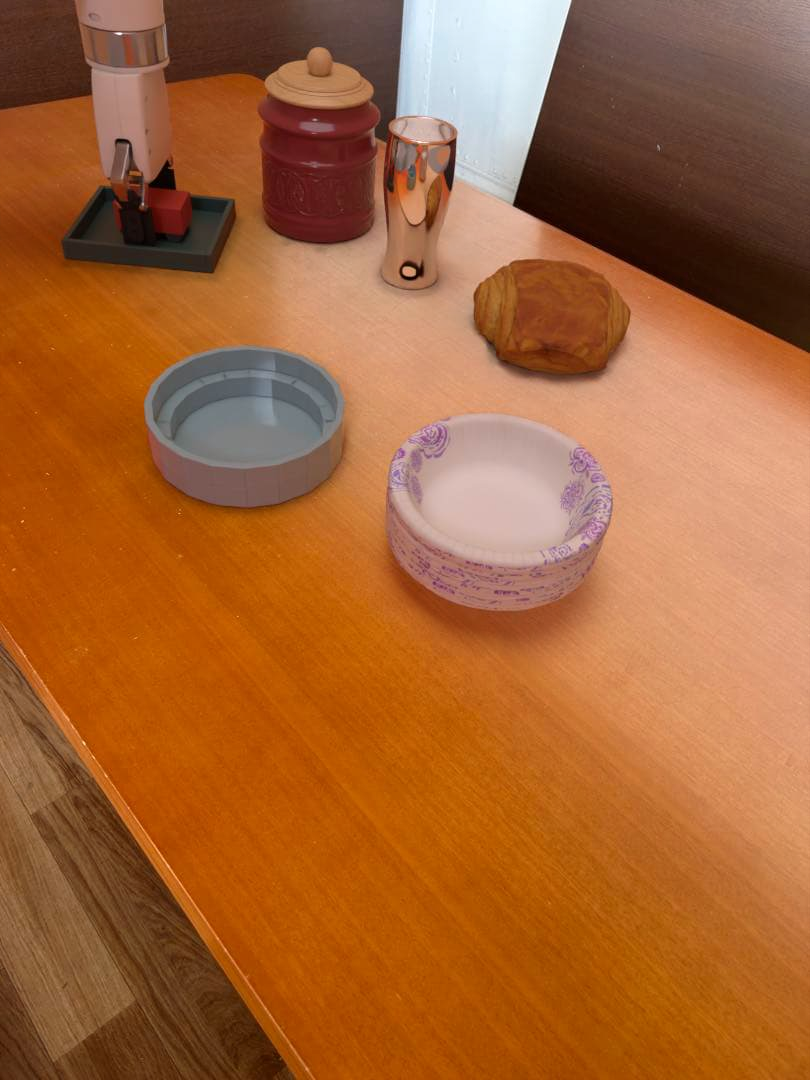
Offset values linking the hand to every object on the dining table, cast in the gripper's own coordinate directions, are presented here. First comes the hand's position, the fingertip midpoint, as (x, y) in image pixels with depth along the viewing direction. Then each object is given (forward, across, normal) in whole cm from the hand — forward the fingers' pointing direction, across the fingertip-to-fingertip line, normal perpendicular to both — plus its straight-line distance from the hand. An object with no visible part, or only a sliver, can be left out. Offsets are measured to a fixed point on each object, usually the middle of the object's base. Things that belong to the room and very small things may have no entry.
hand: (152, 223), depth 86 cm
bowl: (+1, +33, +16) cm, 37 cm away
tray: (+1, 0, 0) cm, 1 cm away
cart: (+1, 0, 0) cm, 1 cm away
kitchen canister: (+1, -8, +17) cm, 19 cm away
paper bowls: (+1, +43, +35) cm, 56 cm away
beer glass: (+1, +3, +28) cm, 28 cm away
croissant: (+1, +13, +42) cm, 44 cm away
